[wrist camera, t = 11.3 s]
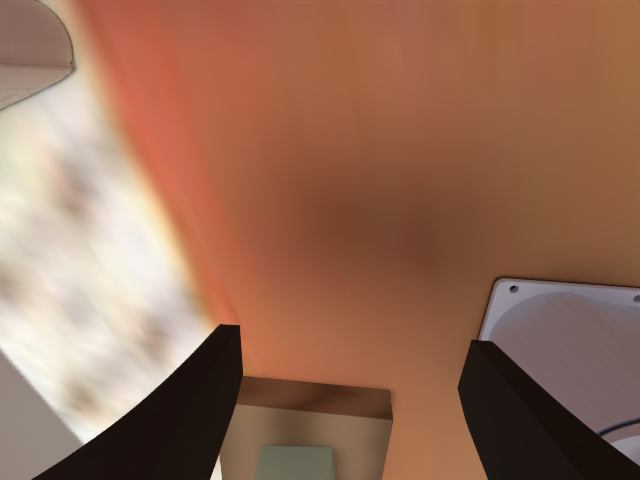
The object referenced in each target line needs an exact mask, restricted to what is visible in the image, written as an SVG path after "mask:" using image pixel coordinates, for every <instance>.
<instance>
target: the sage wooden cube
mask: <svg viewBox="0 0 640 480" xmlns="http://www.w3.org/2000/svg"><path fill="white" fill-rule="evenodd" d="M254 480H335V473H334V463H333V454H332V447H303V446H262V448H261V453H260V457H259V461H258V465H257V470H256V474H255V478H254Z"/></svg>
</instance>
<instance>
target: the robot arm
mask: <svg viewBox="0 0 640 480" xmlns="http://www.w3.org/2000/svg"><path fill="white" fill-rule="evenodd" d="M511 286H515V288H514V289H510V287H511ZM637 295H638V296H637ZM635 296H637V297H636V298H634V297H635ZM242 376H243V365H242V351H241V336H240V325H225V324H220V325H219V326H218V327H217V328H216V329H215V330H214V331H213V332H212V333H211V334H210V335H209V336H208V337H207V338H206V340H205V341H204V342H203V343H202V344H201V345H200V346H199V347H198V348H197V349H196V350H195V351H194V352H193V353H192V354H191V355H190V356H189V357H188V358H187V359H186V360H185V361H184V362H183V363H182V364H181V365H180V366H179V367H178V368H177V369H176V370H175V371H174V372H173V373H172V374H171V375H170V376H169V377H168V378H167V379H166V380H165V381H164V382H163V383H161V384H160V385H159V386H158V387H157V388H156V389H155V390H154V391H153V392H152V393H150V394H149V395H148V396H147V397H146V398H145V399H144V400H142V401H141V402H140V403H139V404H138V405H137V406H135V407H134V408H133V409H132V410H130V411H129V412H128V413H127V414H125V415H124V416H123V417H122V418H120V419H119V420H118V421H117V422H115V423H114V424H113V425H111V426H110V427H109V428H107V429H106V430H105V431H103V432H102V433H101V434H99V435H98V436H96V437H95V438H94V439H92V440H91V441H89V442H88V443H86V444H85V445H84V446H82V447H81V448H79V449H78V450H76V451H75V452H74V453H72V454H71V455H69V456H68V457H66V458H65V459H63V460H62V461H60V462H58V463H57V464H56V465H54V466H52V467H51V468H49V469H48V470H46V471H44V472H43V473H41V474H40V475H38V476H36V477H35V478H33V479H32V480H210V478H211V475H212V473H213V470H214V467H215V464H216V461H217V458H218V455H219V453H220V450H221V447H222V444H223V441H224V438H225V436H226V433H227V430H228V427H229V424H230V421H231V418H232V415H233V413H234V410H235V407H236V403H237V399H238V394H239V390H240V386H241V381H242ZM458 392H459V396H460V400H461V404H462V408H463V412H464V416H465V420H466V423H467V426H468V428H469V431H470V434H471V436H472V439H473V442H474V444H475V447H476V450H477V452H478V455H479V457H480V460H481V462H482V465H483V468H484V470H485V473H486V475H487V478H488V480H640V288H629V287H615V286H602V285H589V284H575V283H562V282H549V281H535V280H522V279H508V278H502V279H499V280H498V281H496V283H495V284H494V287H493V291H492V294H491V298H490V301H489V304H488V308H487V311H486V315H485V318H484V322H483V325H482V328H481V332H480V335H479V339H478V340H471V344H470V347H469V351H468V354H467V357H466V361H465V364H464V368H463V371H462V374H461V378H460V381H459V385H458Z"/></svg>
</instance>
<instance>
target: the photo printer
mask: <svg viewBox="0 0 640 480" xmlns="http://www.w3.org/2000/svg"><path fill="white" fill-rule="evenodd" d="M71 61H72V48H71V44H70V41H69V38H68V35H67V33H66V31H65V29H64V27H63V25H62V24H61V22H60V21H59V19H58V18H57V17H56V16H55V14H54V13H53V12H52V11H50V10H49V9H48V8H47V7H46V6H44V5H43V4H42V3H39V2H37V1H35V0H0V109H2V108H4V107H6V106H8V105H11V104H13V103H15V102H17V101H19V100H22V99H24V98H26V97H28V96H30V95H32V94H35V93H37V92H39V91H41V90H43V89H45V88H47V87H49V86H51V85H53V84H54V83H56V82H58V81H60V80H61V79H63V78H64V77H65V76H67V75H68V74H69V73H70V72H71V71H72V70H73V69H72V67H71V64H70V62H71Z"/></svg>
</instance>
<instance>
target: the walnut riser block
mask: <svg viewBox="0 0 640 480" xmlns="http://www.w3.org/2000/svg"><path fill="white" fill-rule="evenodd" d="M392 424H393V415H392V407H391V399H390V391H389V390H382V389H372V388H361V387H351V386H340V385H330V384H320V383H309V382H299V381H288V380H278V379H267V378H257V377H247V376H242V381H241V386H240V390H239V394H238V399H237V403H236V407H235V410H234V413H233V415H232V418H231V421H230V424H229V427H228V430H227V433H226V436H225V438H224V441H223V444H222V447H221V450H220V453H219V454H220V463H221V473H222V480H254V478H255V474H256V470H257V465H258V461H259V457H260V453H261V448H262V446H303V447H332V454H333V463H334V473H335V480H381V479H382V474H383V469H384V464H385V459H386V454H387V449H388V444H389V439H390V434H391V429H392Z"/></svg>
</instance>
